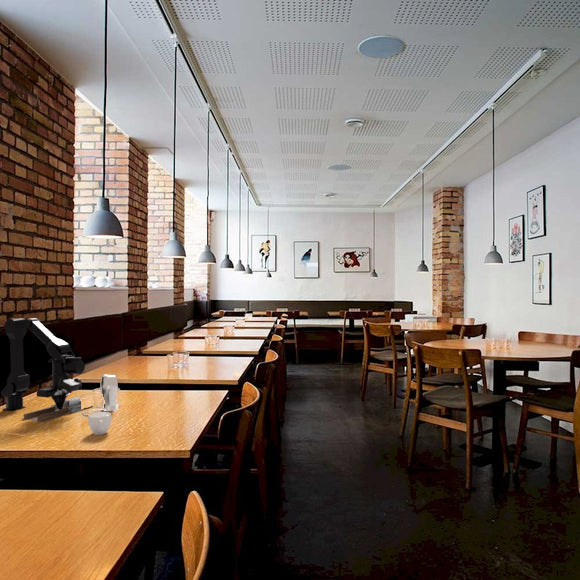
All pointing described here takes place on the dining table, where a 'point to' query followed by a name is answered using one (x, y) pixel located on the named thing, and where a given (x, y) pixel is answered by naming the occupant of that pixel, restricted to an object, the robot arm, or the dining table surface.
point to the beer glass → (109, 391)
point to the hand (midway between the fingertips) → (60, 409)
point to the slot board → (49, 413)
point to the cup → (99, 422)
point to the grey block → (77, 400)
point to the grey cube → (70, 403)
